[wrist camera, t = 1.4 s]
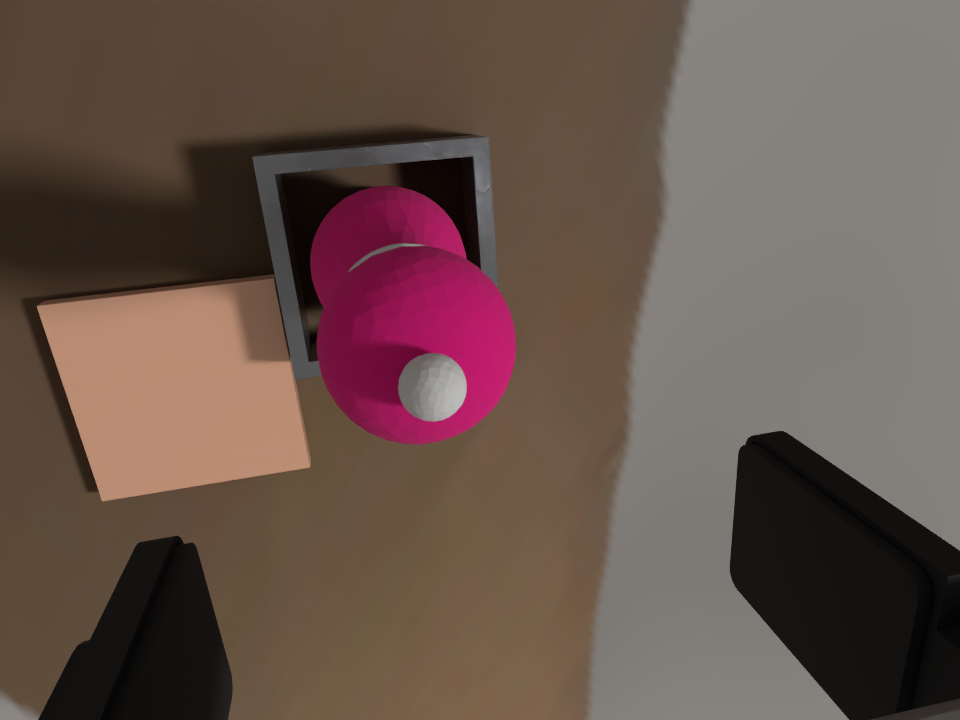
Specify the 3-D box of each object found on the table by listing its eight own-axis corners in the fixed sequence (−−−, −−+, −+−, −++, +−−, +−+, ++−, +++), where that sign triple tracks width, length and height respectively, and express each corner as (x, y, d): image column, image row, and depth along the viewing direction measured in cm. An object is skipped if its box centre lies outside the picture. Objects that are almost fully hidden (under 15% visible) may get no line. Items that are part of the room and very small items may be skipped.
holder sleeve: (260, 152, 31) (252, 156, 28) (473, 134, 33) (488, 136, 30) (298, 355, 35) (294, 379, 32) (487, 329, 37) (501, 350, 34)
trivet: (45, 300, 32) (36, 305, 31) (275, 274, 34) (273, 278, 33) (108, 491, 36) (102, 501, 35) (310, 458, 38) (310, 467, 37)
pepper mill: (351, 335, 36) (367, 568, 17) (287, 212, 33) (224, 336, 14) (470, 280, 36) (611, 453, 17) (417, 154, 33) (519, 203, 15)
